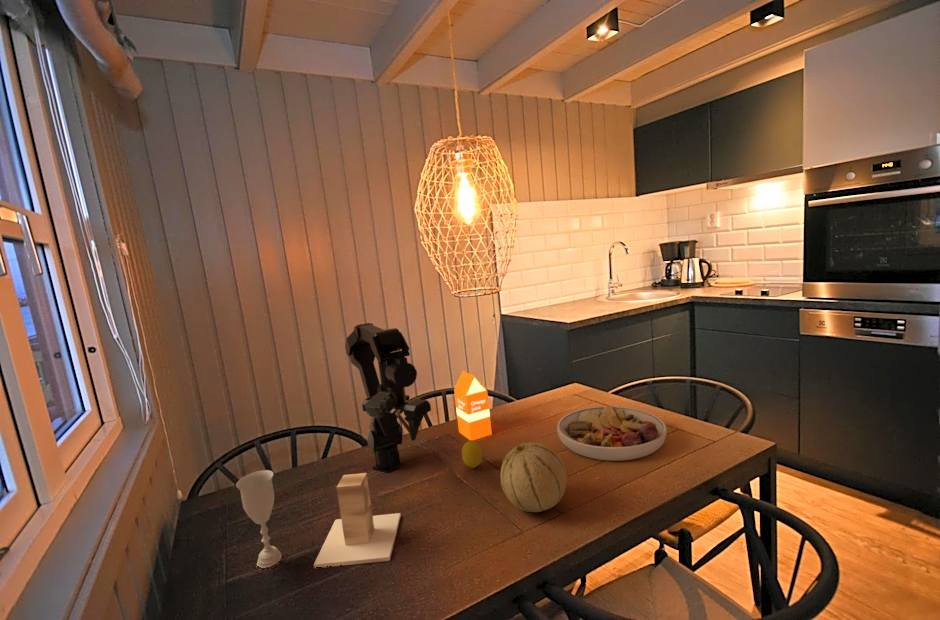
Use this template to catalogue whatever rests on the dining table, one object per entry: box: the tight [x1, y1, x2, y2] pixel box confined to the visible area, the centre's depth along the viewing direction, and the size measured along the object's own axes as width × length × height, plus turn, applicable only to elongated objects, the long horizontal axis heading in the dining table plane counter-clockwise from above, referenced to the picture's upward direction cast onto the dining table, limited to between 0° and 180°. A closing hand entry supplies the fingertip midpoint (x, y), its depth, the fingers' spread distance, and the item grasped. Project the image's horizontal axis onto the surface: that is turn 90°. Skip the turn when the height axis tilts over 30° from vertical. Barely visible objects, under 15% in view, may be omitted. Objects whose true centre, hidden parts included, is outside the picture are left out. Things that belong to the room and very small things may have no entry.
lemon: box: [461, 440, 483, 469], centre depth 123 cm, size 6×6×8 cm
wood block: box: [335, 472, 374, 545], centre depth 96 cm, size 5×5×13 cm
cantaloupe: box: [500, 441, 568, 513], centre depth 102 cm, size 15×15×15 cm
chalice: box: [235, 469, 283, 568], centre depth 92 cm, size 7×7×18 cm
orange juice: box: [453, 370, 493, 441], centre depth 145 cm, size 8×9×20 cm
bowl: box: [556, 405, 668, 462], centre depth 131 cm, size 30×30×8 cm
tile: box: [313, 512, 401, 569], centre depth 97 cm, size 15×15×1 cm
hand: (399, 437), depth 117 cm, fingers open, 9 cm apart
